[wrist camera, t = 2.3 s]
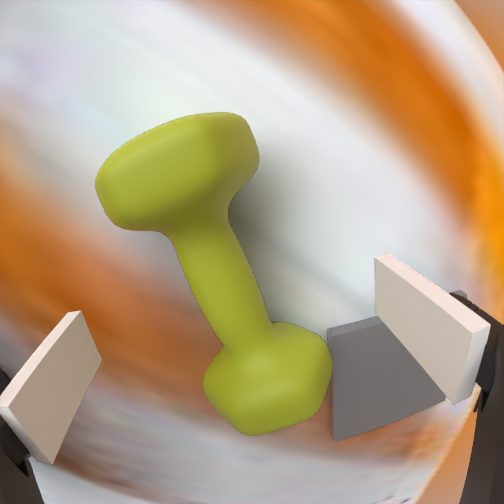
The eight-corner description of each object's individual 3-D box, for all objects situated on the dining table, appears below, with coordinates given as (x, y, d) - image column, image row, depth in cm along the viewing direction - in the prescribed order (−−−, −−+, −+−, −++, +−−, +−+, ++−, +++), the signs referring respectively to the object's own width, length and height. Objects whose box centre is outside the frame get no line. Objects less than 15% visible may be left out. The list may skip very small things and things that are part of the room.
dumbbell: (320, 344, 21) (355, 413, 15) (217, 381, 22) (218, 457, 15) (238, 110, 17) (248, 79, 10) (112, 164, 17) (52, 170, 10)
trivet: (330, 434, 24) (333, 441, 24) (327, 329, 21) (331, 336, 20) (440, 394, 25) (444, 400, 24) (460, 290, 21) (467, 294, 20)
